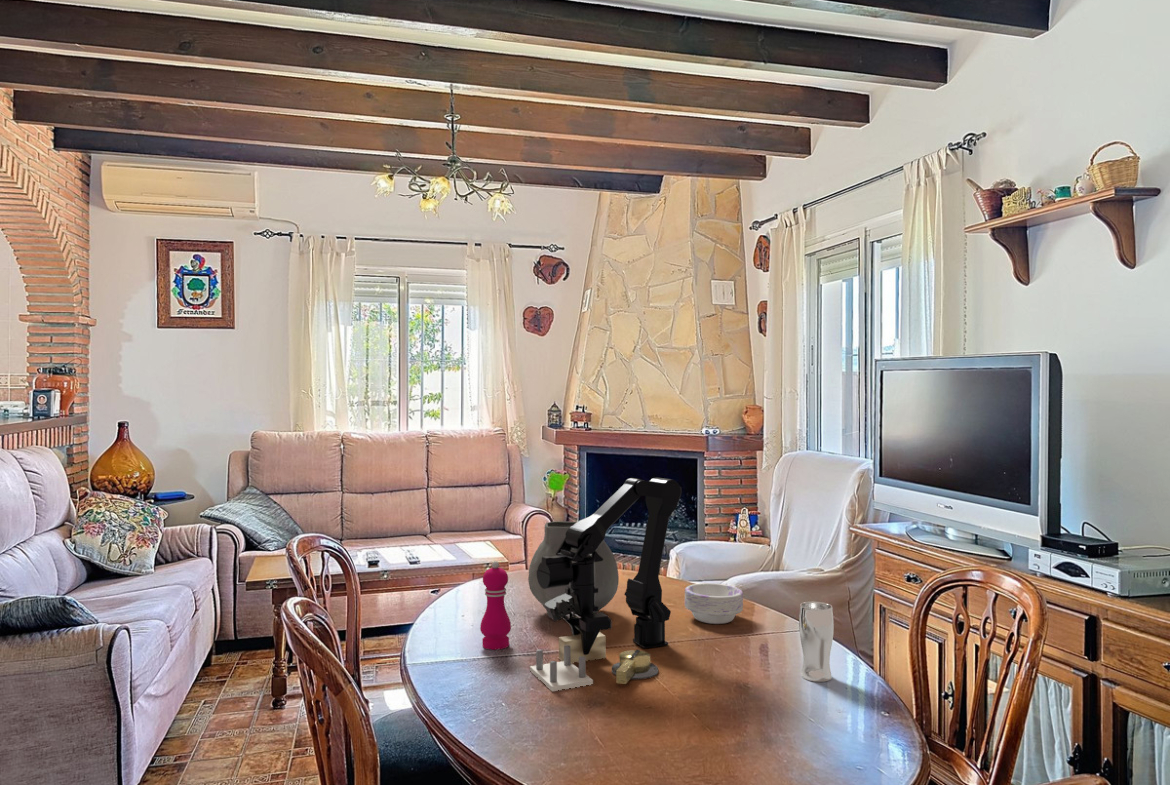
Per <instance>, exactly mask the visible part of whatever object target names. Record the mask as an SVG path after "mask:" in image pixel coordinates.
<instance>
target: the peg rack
mask: <svg viewBox="0 0 1170 785" xmlns="http://www.w3.org/2000/svg"><path fill="white" fill-rule="evenodd" d="M535 652H536V654H535V657H536V658H535V659H536V660H535V663H536V664H535V665H531V666H529V672H530V671H531V673H532V674H533V676H535V677H536V678H537V677H538V678H537V680H539V681H540V680H541V681H542V682H543V683H544V684H545V685H546V686H545V685H544V684H543V683H542V682H541V681H540V682H541V683H542V684H543V685H544V686H545V687H546V688H548V689H549V691H551V692H558V690H559V691H563V690H562V689H565V690H570V689H569V688H571V689H576V688H575V687H577V688H581V687H580V686H583V687H587V686H586V685H589V686H592V685H591V684H593V685H594V679H592V678H591V677H590V676H589V675H588V674H587V672H586V671H587V670H586V667H587V666H586V665H587V664H586V662H587V661H586V657H583V656H581V657H579V662H578V667H577V666H576V665H575V663H571V649H570V646H569V645H565V646H564V661H556V660H550V661H549V663H544V657H543V656H544V653H543V652H544V650H543V649H540V648H539V649H536V651H535Z"/></svg>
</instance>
